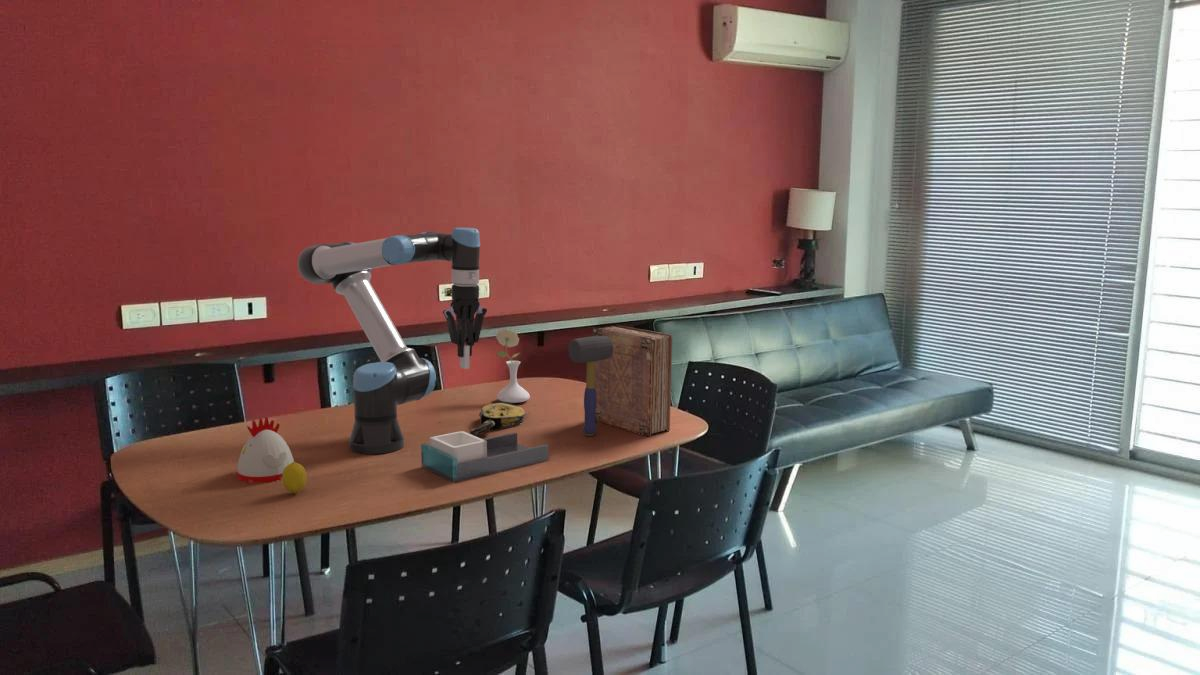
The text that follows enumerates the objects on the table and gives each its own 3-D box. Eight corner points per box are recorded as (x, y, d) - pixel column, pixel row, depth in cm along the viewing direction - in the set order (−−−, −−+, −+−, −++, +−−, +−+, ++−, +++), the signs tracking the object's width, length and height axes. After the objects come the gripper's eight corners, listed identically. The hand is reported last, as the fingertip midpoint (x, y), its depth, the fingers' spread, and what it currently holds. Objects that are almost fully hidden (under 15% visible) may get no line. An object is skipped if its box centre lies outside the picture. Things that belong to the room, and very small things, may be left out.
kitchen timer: (228, 473, 232) (225, 417, 229) (280, 462, 241) (277, 408, 239) (252, 487, 222) (248, 428, 219) (304, 474, 232) (301, 418, 229)
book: (670, 431, 275) (673, 334, 270) (649, 437, 269) (652, 338, 264) (612, 415, 293) (613, 324, 288) (591, 420, 287) (592, 327, 282)
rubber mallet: (579, 441, 264) (580, 340, 258) (565, 435, 270) (566, 336, 264) (613, 435, 271) (615, 336, 265) (599, 429, 277) (601, 332, 271)
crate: (453, 474, 229) (453, 448, 228) (430, 462, 238) (429, 437, 237) (487, 466, 235) (486, 441, 234) (462, 455, 244) (462, 430, 243)
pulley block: (454, 416, 265) (494, 393, 294) (452, 434, 266) (492, 410, 295) (498, 427, 262) (535, 403, 290) (496, 446, 263) (532, 420, 291)
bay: (452, 482, 227) (452, 459, 226) (421, 466, 239) (421, 444, 238) (548, 460, 246) (548, 438, 245) (514, 446, 258) (514, 425, 257)
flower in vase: (536, 400, 311) (536, 329, 307) (516, 407, 302) (516, 333, 297) (506, 395, 318) (506, 325, 313) (486, 401, 308) (485, 329, 304)
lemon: (310, 489, 220) (308, 458, 219) (303, 497, 215) (301, 465, 214) (287, 489, 220) (285, 458, 219) (280, 497, 215) (278, 465, 213)
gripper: (451, 287, 241) (450, 373, 245) (492, 284, 249) (491, 368, 253) (437, 283, 247) (437, 367, 251) (479, 281, 255) (477, 362, 259)
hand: (464, 367), depth 252 cm, fingers closed
